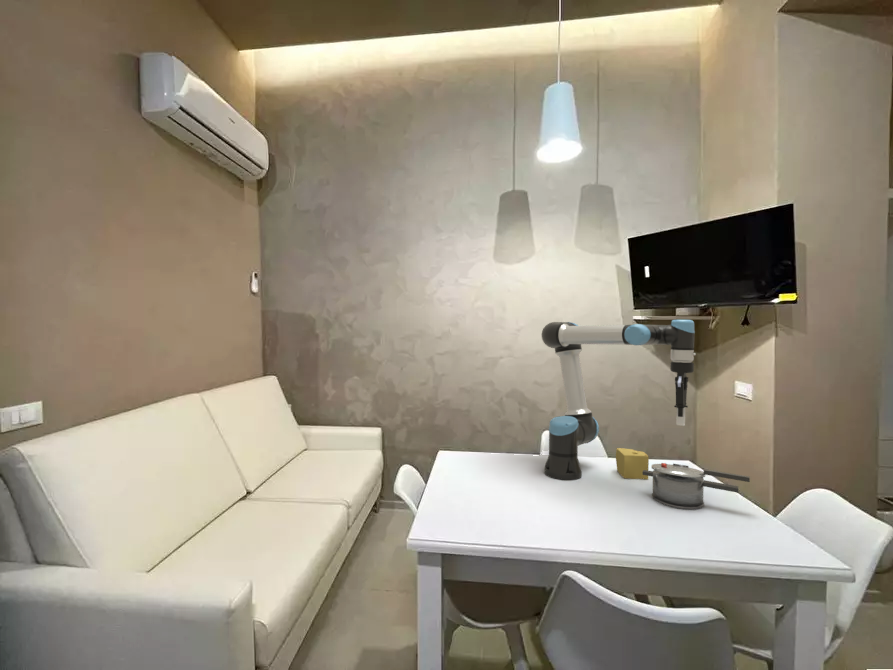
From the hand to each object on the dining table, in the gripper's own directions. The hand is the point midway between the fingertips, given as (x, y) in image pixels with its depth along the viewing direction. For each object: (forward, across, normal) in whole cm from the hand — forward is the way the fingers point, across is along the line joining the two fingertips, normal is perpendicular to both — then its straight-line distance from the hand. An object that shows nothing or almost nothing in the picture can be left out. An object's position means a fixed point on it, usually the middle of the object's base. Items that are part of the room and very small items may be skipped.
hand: (680, 425), depth 160 cm
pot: (+26, -6, -4) cm, 27 cm away
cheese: (+26, +12, +19) cm, 34 cm away
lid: (+16, -6, -7) cm, 18 cm away
